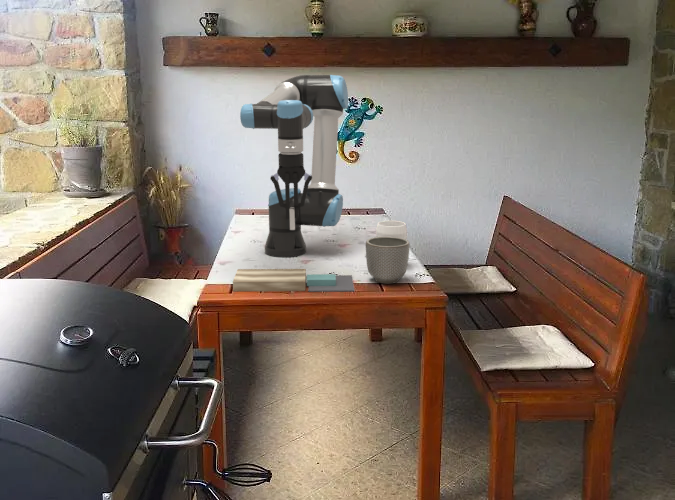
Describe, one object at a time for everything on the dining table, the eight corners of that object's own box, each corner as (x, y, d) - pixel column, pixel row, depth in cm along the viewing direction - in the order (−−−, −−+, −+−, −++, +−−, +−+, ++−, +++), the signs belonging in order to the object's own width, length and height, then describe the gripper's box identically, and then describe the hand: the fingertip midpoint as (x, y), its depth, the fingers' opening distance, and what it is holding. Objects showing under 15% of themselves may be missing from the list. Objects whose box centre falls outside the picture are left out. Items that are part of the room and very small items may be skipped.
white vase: (404, 271, 240) (406, 227, 236) (373, 269, 242) (374, 226, 238) (407, 262, 250) (408, 220, 246) (377, 261, 252) (377, 219, 248)
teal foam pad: (306, 286, 222) (306, 279, 222) (307, 280, 228) (307, 274, 228) (335, 285, 223) (335, 279, 222) (335, 280, 228) (335, 274, 228)
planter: (373, 272, 238) (374, 234, 235) (413, 277, 233) (415, 238, 230) (358, 284, 226) (359, 244, 223) (400, 289, 221) (402, 248, 217)
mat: (308, 276, 234) (308, 275, 233) (351, 276, 234) (351, 275, 234) (308, 291, 218) (308, 290, 218) (354, 291, 218) (354, 290, 218)
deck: (237, 278, 232) (237, 269, 231) (305, 277, 233) (305, 268, 232) (233, 291, 218) (232, 281, 218) (305, 290, 219) (305, 281, 218)
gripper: (268, 154, 211) (270, 232, 218) (312, 154, 212) (313, 231, 218) (269, 151, 219) (272, 226, 225) (312, 150, 219) (313, 225, 225)
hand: (292, 228), depth 222 cm, fingers closed
